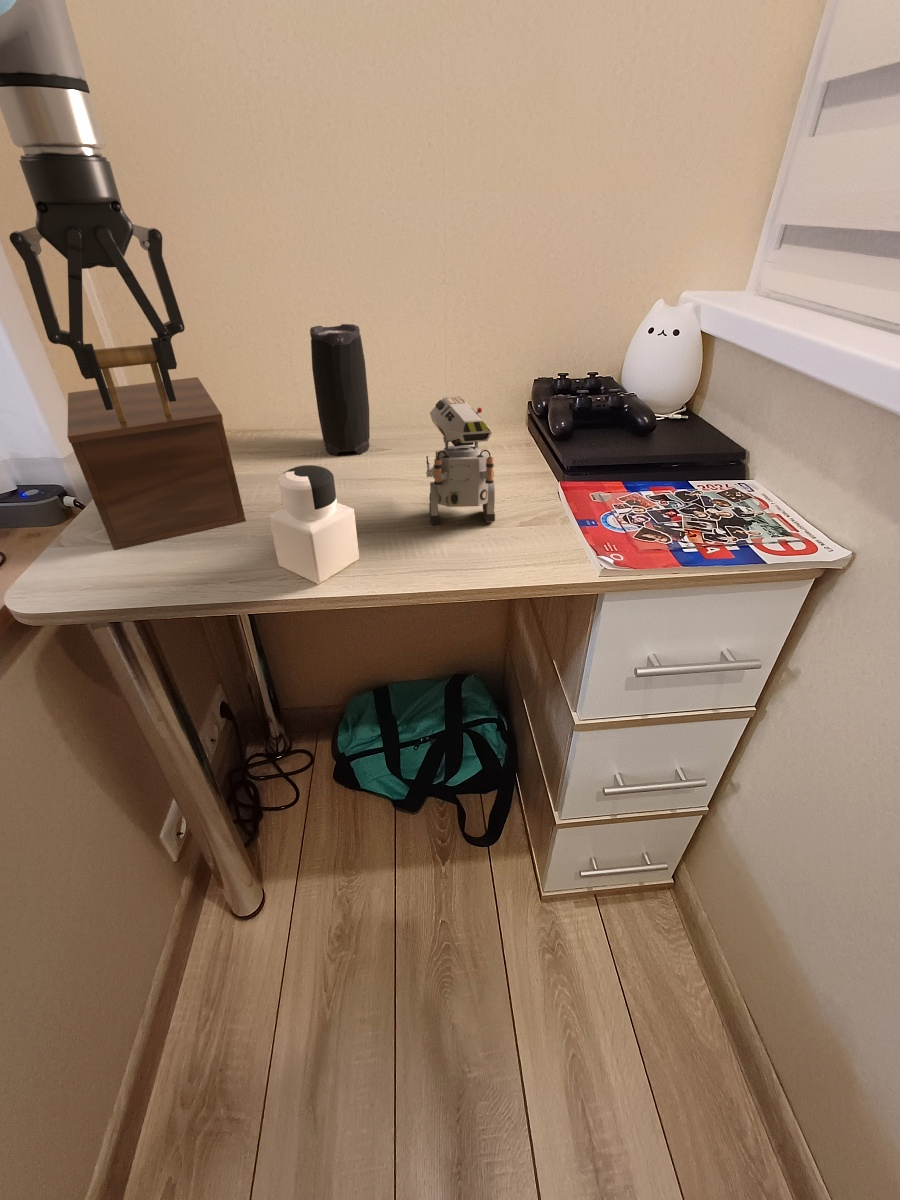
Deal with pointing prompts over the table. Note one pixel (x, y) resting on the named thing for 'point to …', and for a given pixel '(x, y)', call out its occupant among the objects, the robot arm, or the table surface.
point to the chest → (161, 482)
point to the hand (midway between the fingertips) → (140, 401)
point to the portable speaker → (341, 387)
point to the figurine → (461, 460)
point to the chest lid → (136, 401)
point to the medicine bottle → (313, 525)
